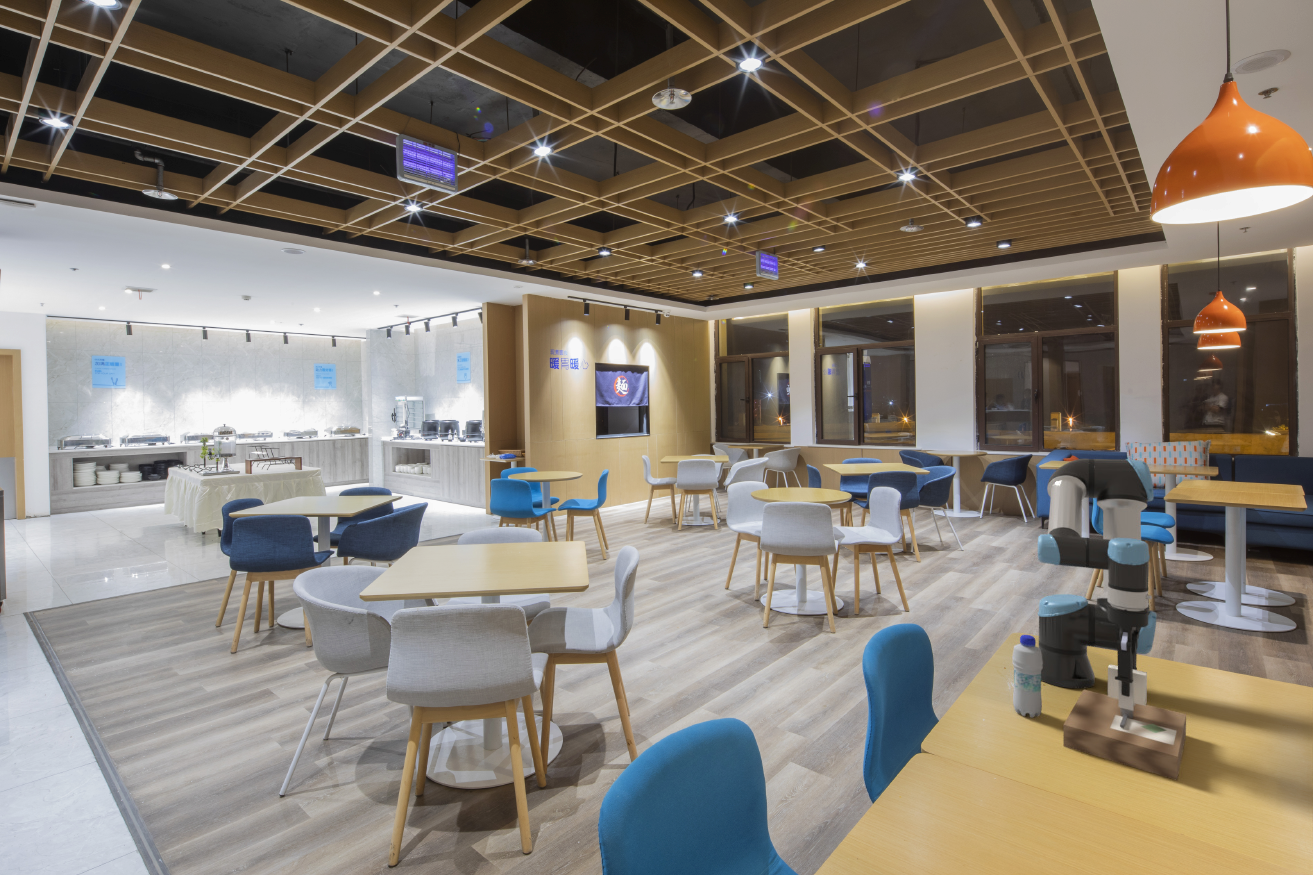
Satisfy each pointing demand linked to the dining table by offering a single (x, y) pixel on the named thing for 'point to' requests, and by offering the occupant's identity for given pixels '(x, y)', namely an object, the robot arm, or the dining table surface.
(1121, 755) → the wooden box with sign
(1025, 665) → the bottle
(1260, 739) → the dining table surface
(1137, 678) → the white box with rod
